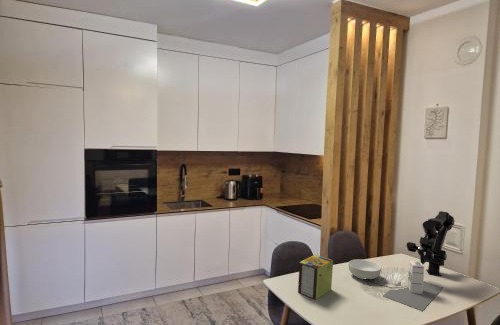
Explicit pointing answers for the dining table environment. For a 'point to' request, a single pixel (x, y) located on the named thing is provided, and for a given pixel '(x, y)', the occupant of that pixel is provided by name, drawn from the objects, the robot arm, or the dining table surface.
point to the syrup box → (416, 277)
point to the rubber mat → (414, 295)
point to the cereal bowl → (364, 269)
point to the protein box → (315, 276)
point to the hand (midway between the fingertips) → (421, 264)
